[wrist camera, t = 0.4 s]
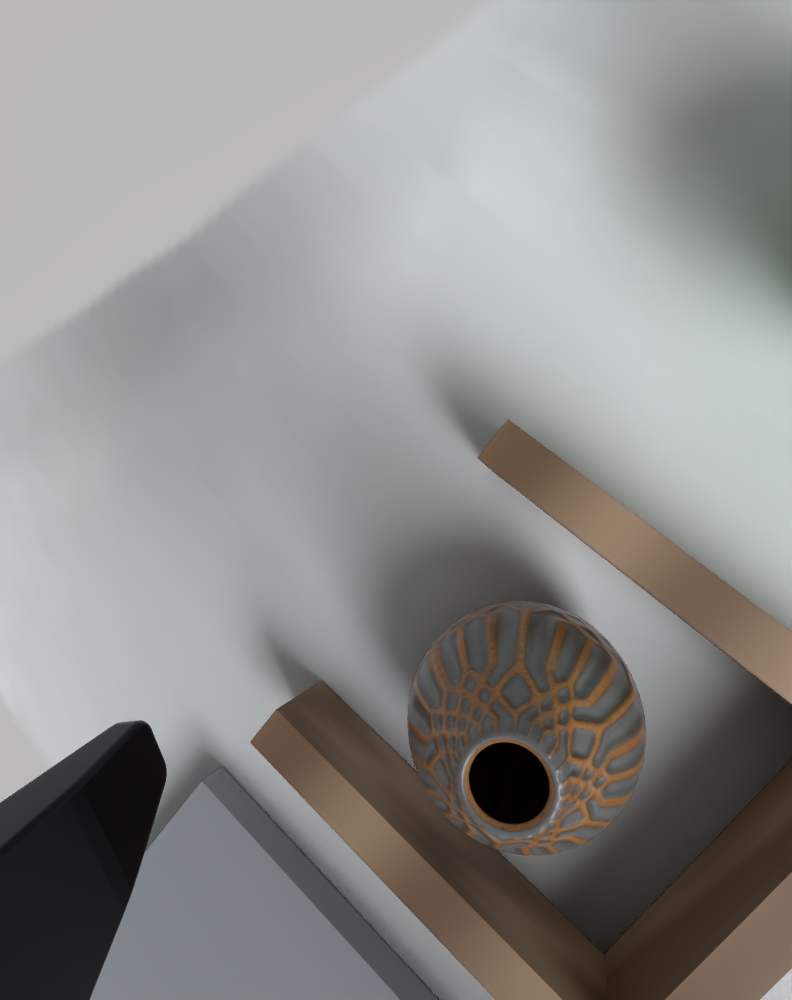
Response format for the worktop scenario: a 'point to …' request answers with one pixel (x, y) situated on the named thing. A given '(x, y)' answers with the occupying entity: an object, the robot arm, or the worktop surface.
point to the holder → (491, 878)
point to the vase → (526, 728)
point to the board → (242, 917)
